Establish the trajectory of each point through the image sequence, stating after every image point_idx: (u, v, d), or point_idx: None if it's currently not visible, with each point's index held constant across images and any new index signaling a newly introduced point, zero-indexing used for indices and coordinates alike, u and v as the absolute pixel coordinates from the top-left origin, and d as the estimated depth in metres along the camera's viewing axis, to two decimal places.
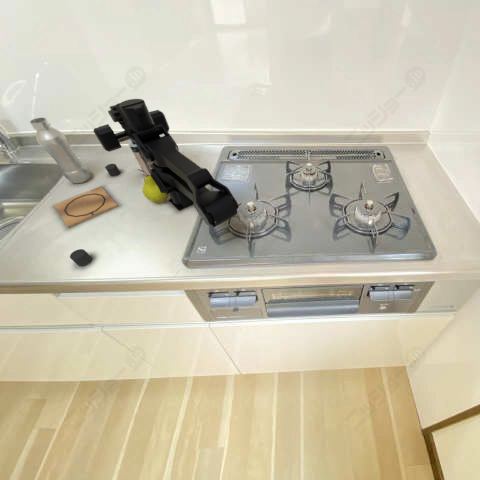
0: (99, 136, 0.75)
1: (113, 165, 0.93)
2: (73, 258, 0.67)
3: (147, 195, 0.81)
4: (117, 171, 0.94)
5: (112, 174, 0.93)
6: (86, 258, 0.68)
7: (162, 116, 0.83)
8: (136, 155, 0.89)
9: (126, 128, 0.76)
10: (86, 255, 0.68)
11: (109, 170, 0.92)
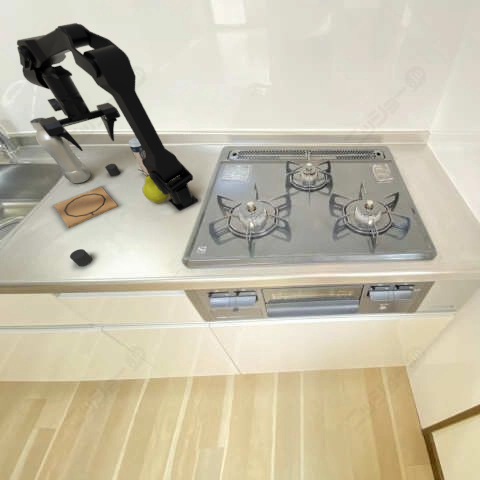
0: (39, 121, 0.76)
1: (113, 165, 0.93)
2: (73, 258, 0.67)
3: (147, 195, 0.81)
4: (117, 171, 0.94)
5: (112, 174, 0.93)
6: (86, 258, 0.68)
7: (107, 103, 0.85)
8: (136, 155, 0.89)
9: (59, 103, 0.78)
10: (86, 255, 0.68)
11: (109, 170, 0.92)
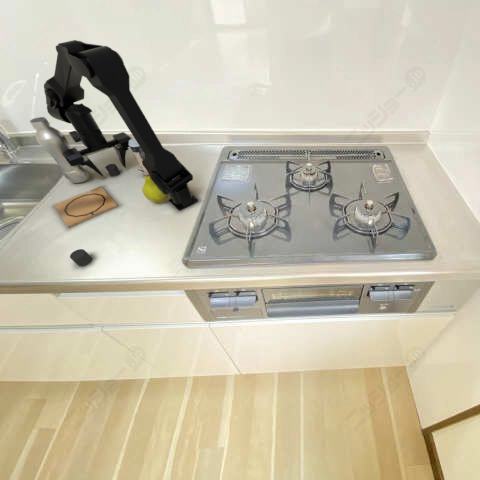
0: (62, 153, 0.83)
1: (113, 165, 0.93)
2: (73, 258, 0.67)
3: (147, 195, 0.81)
4: (117, 171, 0.94)
5: (112, 174, 0.93)
6: (86, 258, 0.68)
7: (122, 132, 0.92)
8: (136, 155, 0.89)
9: (79, 136, 0.85)
10: (86, 255, 0.68)
11: (109, 170, 0.92)
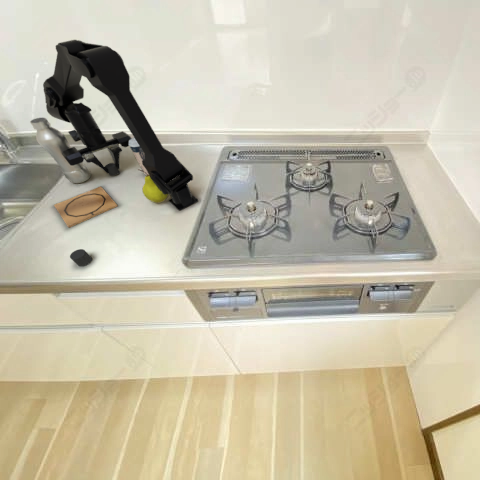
0: None
1: (113, 164, 0.93)
2: (73, 258, 0.67)
3: (147, 195, 0.81)
4: (116, 170, 0.94)
5: (111, 173, 0.93)
6: (86, 258, 0.68)
7: None
8: (136, 155, 0.89)
9: (78, 135, 0.85)
10: (86, 255, 0.68)
11: (108, 169, 0.92)
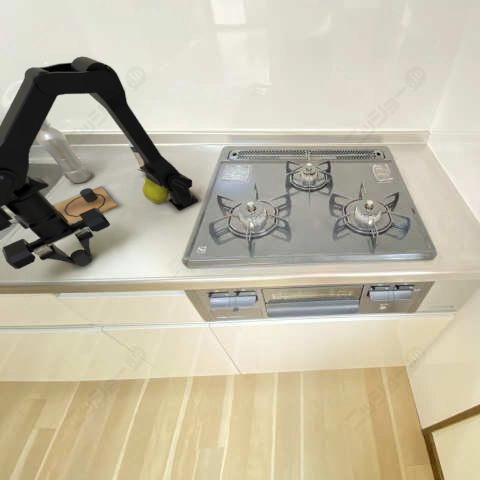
0: (2, 249, 0.58)
1: (89, 190, 0.83)
2: (73, 258, 0.67)
3: (147, 195, 0.81)
4: (93, 196, 0.84)
5: (88, 200, 0.83)
6: (86, 258, 0.68)
7: (93, 208, 0.67)
8: (136, 155, 0.89)
9: None
10: (86, 255, 0.68)
11: (84, 196, 0.82)
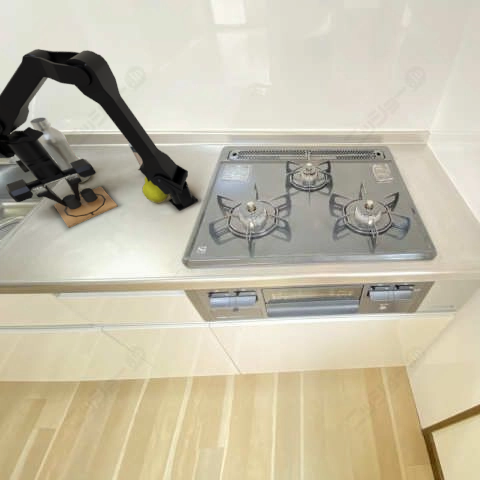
0: (6, 186, 0.71)
1: (89, 190, 0.83)
2: (65, 200, 0.80)
3: (147, 195, 0.81)
4: (93, 196, 0.84)
5: (88, 200, 0.83)
6: (76, 202, 0.81)
7: (81, 159, 0.80)
8: (136, 155, 0.89)
9: None
10: (76, 199, 0.81)
11: (84, 196, 0.82)
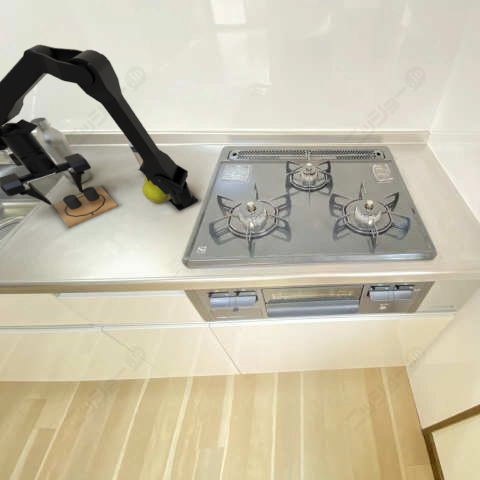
0: None
1: (92, 189, 0.83)
2: (65, 201, 0.80)
3: (147, 195, 0.81)
4: (96, 195, 0.84)
5: (90, 198, 0.84)
6: (76, 202, 0.81)
7: (76, 153, 0.78)
8: (136, 155, 0.89)
9: None
10: (76, 199, 0.81)
11: (86, 194, 0.82)
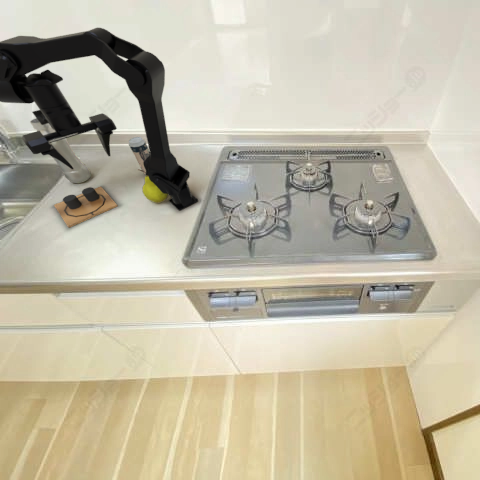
0: (22, 137, 0.66)
1: (91, 189, 0.83)
2: (65, 201, 0.80)
3: (147, 195, 0.81)
4: (95, 196, 0.84)
5: (90, 199, 0.84)
6: (76, 202, 0.81)
7: (101, 114, 0.74)
8: (136, 155, 0.89)
9: (45, 116, 0.67)
10: (76, 199, 0.81)
11: (86, 195, 0.82)
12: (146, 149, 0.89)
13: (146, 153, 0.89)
